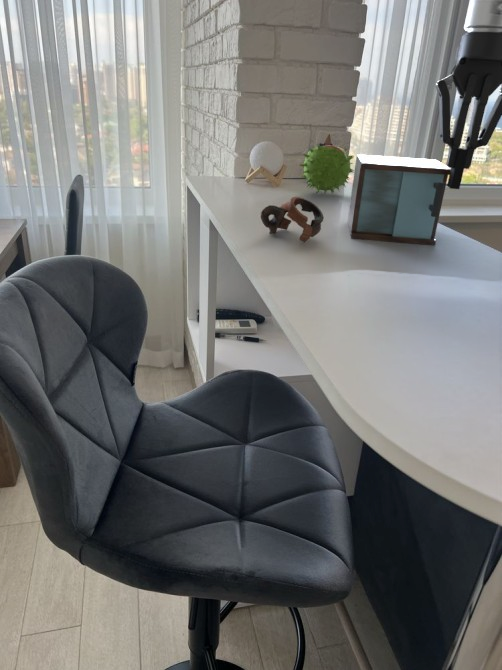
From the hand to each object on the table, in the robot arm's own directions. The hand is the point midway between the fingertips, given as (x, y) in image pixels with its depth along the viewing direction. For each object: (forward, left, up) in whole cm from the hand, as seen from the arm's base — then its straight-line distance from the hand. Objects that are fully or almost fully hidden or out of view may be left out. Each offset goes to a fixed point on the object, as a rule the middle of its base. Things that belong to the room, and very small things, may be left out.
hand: (453, 187), depth 89 cm
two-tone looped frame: (+28, 0, -12) cm, 30 cm away
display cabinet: (+8, -10, -11) cm, 17 cm away
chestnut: (+21, -47, -12) cm, 53 cm away
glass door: (+5, -2, -11) cm, 12 cm away
